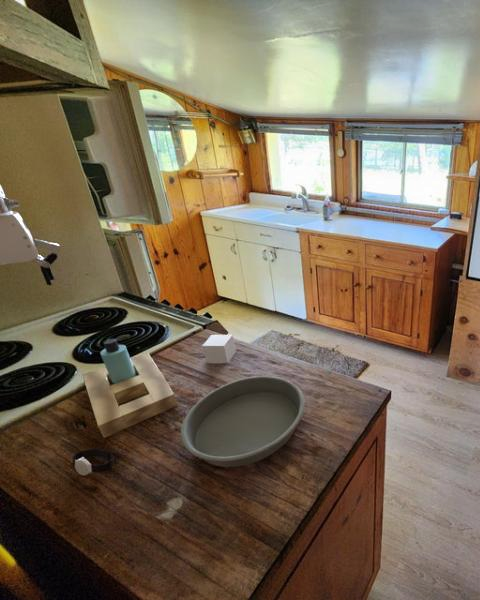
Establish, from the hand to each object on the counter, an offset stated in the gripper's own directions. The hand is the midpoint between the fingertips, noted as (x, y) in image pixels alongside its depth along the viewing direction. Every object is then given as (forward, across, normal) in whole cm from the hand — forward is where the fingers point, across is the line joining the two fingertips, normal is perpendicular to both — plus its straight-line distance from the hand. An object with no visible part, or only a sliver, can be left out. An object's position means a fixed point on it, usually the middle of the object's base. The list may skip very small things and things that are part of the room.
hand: (17, 288), depth 70 cm
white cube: (+27, -33, +12) cm, 44 cm away
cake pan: (+27, -28, +43) cm, 58 cm away
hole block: (+27, -11, +14) cm, 32 cm away
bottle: (+27, -11, +9) cm, 31 cm away
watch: (+27, -2, +33) cm, 43 cm away
